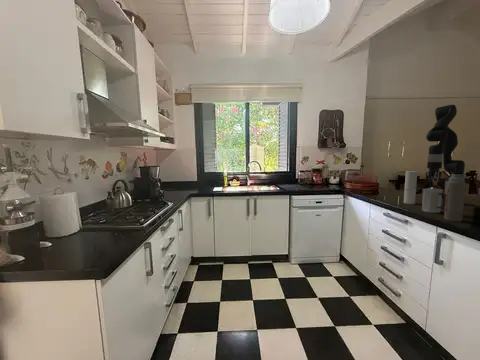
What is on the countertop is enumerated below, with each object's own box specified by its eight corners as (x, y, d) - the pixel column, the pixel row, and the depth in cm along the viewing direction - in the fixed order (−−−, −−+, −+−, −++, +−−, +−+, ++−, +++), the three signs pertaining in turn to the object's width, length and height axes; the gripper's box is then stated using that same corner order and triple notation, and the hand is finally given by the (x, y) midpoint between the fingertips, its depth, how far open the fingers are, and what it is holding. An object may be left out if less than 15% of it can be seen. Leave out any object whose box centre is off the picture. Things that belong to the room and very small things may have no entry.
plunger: (429, 206, 157) (431, 179, 155) (437, 208, 152) (440, 180, 150) (424, 207, 155) (426, 180, 153) (433, 208, 150) (435, 181, 148)
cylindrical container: (416, 204, 175) (419, 171, 172) (406, 203, 176) (408, 171, 173) (411, 202, 181) (414, 171, 179) (401, 201, 183) (404, 171, 180)
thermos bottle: (444, 219, 134) (448, 172, 131) (443, 216, 140) (447, 171, 137) (463, 222, 129) (468, 173, 126) (461, 219, 135) (466, 172, 132)
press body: (427, 208, 160) (429, 187, 158) (448, 213, 148) (450, 190, 147) (418, 210, 156) (420, 188, 155) (439, 214, 145) (441, 191, 143)
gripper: (435, 160, 156) (432, 185, 158) (421, 161, 151) (419, 187, 153) (448, 161, 149) (445, 187, 151) (434, 161, 144) (432, 188, 146)
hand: (432, 186), depth 152 cm, fingers closed on plunger, 3 cm apart
